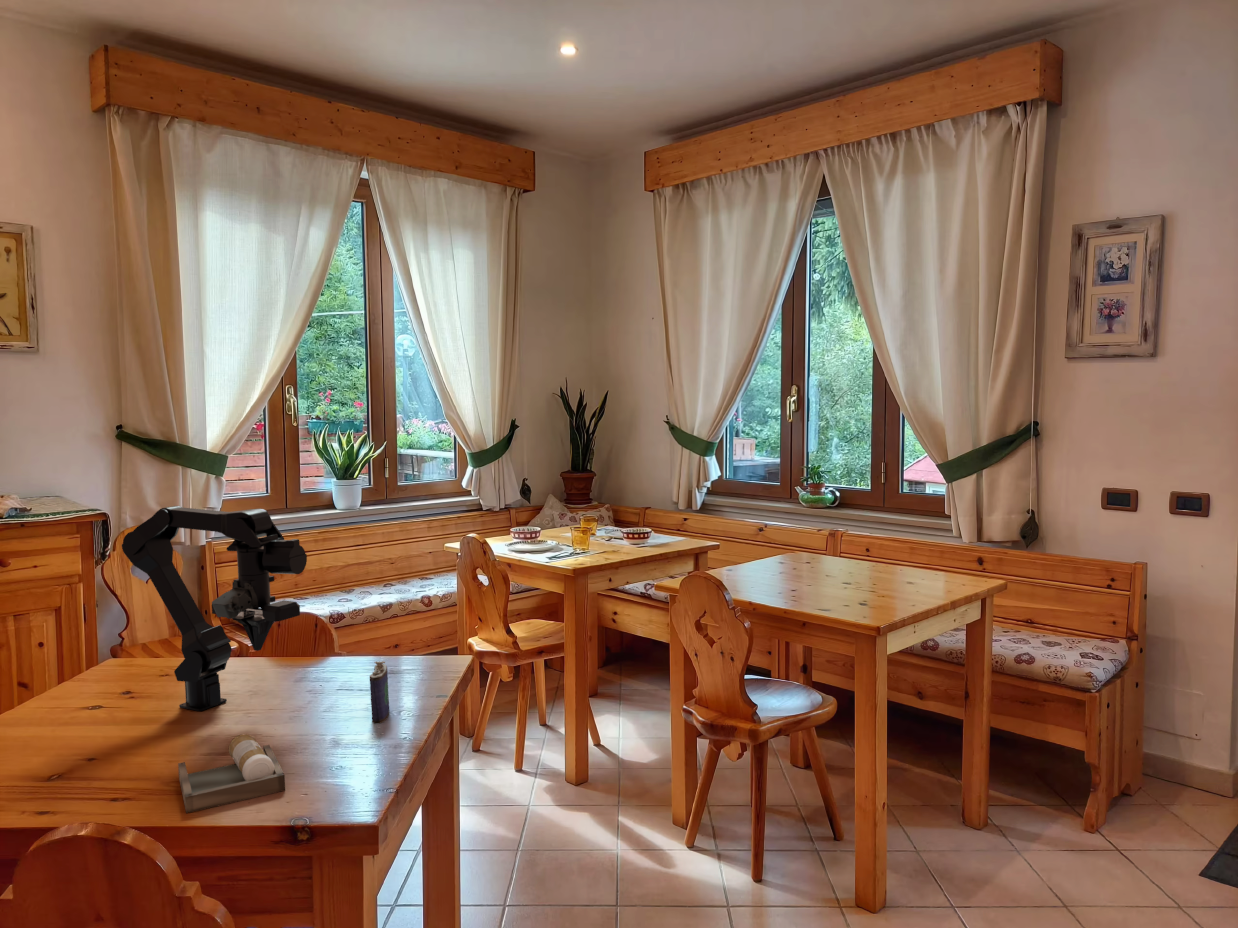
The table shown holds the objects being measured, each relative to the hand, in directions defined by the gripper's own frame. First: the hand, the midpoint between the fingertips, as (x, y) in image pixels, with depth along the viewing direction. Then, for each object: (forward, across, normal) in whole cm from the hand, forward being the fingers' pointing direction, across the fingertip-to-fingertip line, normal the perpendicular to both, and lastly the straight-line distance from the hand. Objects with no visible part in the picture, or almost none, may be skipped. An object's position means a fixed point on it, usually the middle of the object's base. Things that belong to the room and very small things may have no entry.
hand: (257, 650), depth 172 cm
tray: (+12, +24, -27) cm, 38 cm away
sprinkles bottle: (+10, +18, -20) cm, 28 cm away
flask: (+12, +25, +7) cm, 29 cm away
